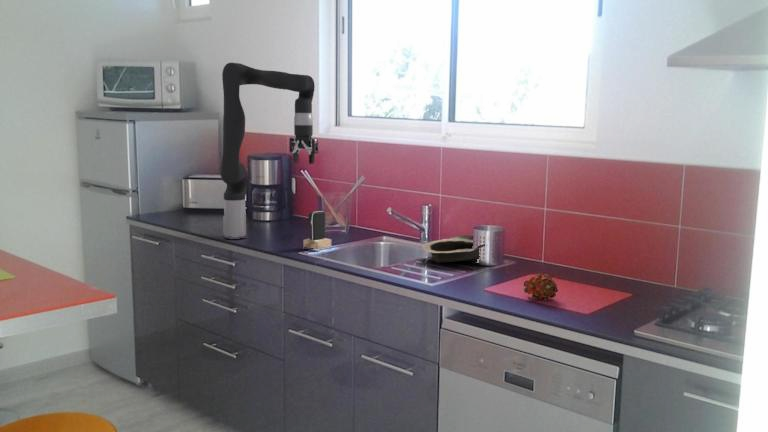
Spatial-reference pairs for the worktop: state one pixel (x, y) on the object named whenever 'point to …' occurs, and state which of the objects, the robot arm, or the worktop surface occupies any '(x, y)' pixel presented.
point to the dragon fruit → (541, 287)
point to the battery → (317, 225)
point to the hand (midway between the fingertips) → (303, 163)
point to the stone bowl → (453, 249)
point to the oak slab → (317, 243)
